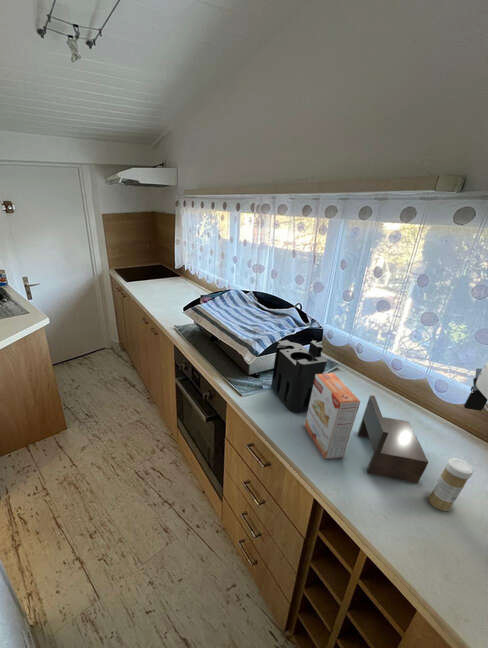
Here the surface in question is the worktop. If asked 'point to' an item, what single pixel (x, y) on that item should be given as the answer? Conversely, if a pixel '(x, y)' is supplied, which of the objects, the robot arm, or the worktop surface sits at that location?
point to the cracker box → (331, 415)
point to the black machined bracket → (296, 373)
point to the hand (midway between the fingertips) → (483, 423)
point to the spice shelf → (392, 446)
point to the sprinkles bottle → (450, 484)
